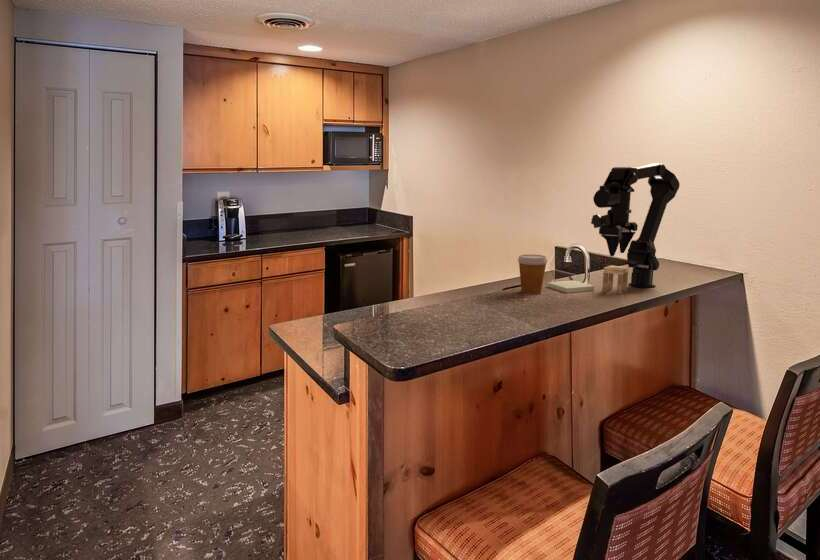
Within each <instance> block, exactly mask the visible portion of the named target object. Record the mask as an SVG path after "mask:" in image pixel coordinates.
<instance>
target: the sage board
mask: <svg viewBox="0 0 820 560" xmlns="http://www.w3.org/2000/svg"><path fill="white" fill-rule="evenodd" d="M546 287H547V288H550V289H553V290H557V291H559V292H563V293H565V294H567V293H580V292H591V291H593V292H594V291H595V285H592V284H588V283H585V282H581V281H578V280H574V279H573V280H561V281H549V282H547V283H546Z"/></svg>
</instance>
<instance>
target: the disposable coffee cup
mask: <svg viewBox="0 0 820 560" xmlns="http://www.w3.org/2000/svg"><path fill="white" fill-rule="evenodd" d="M517 261H518V266H519V268H518V269H519V279H520V289H521V293H522V294H525V295H541V293H542V291H543V290H542V289H543V284H544V279H545V278H544V277H545V272H546V265H547V264H548V263H547V262H548V258H547V256H546V255H544V254H543V255H542V254H532V253H531V254H521V255H519V257H518V258H517Z"/></svg>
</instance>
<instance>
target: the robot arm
mask: <svg viewBox="0 0 820 560" xmlns="http://www.w3.org/2000/svg"><path fill="white" fill-rule="evenodd" d="M656 176H657V177H656ZM647 178H648V179H647ZM643 179H647V183H648V186H650V189H649V190H650V191H649V192H650V197H651V198H652V199H651V203H650V205H649V207H648V211H647V214H646V216H645V219H644V221H643V225H642V228H641V232H640V234H639V236H638V238H637V239H636V240H635V239H634V240H633V237H634V235H635V234H636V232H637V231H638V224H637V223H636V222H635V221H629V220H630V214H632V209H631V208H630V206H631V196H632V195H631V193H634V192H635V189H634V188H633V187H632V185H634V184H637V182H638V181H639V180H643ZM680 185H681V184H680V181H679V180H678V178H677V176H676V175H675V173H673V172H672V171H670V170H669V169H667V168H666V166H665V164H663V163H649V164H647V165H642V166H614V167H612V168H611V171H610V172H609V173H608V175H607V177H606V179H605V180H604V183H603V185H599V189H598V190H597V191H596V192H595V193H594V195H593V199H592V200H593V204H594V205H595V206H596V207H597V208H599V209H603V208H604V209H605V208H610V209H608V210H607V212H606V214H604V215H600V214H599V213H598V214H593V215H592V218H591V222H590V224H591V225H593V227H594V229H597V228H599V229H598V234H599V235H600V236H601V237H602V238H603V239H605V241H606V245H607V248H608V252H609V256H610V257H615V254H616V253H617V250H618V247H619V253H621V254H624V253H626V250H627V253H626V259H627V264H628V266H627V267H629V268H632V272H631V276H630V277H631V278H630V279H631V280H630V282H629V283H627V286H628V285H629V286H632V287H636V288H640V289H642V288H643V289H644V288H655V287H656V285H655V284H653V280H654V279H653V278H654V271H657V270H659V268H660V262H659V259H658V258H657V256H656V253H657V250H656V246H655V243H654V242H655V240H656V237H657V234H658V231H659V228H660V225H661V224H662V223H661V222H662V219H663V217H664V214H665V211H666V208H667V205H668V203H670V202H671V201H672V200H673V199H674V198H675V197H676V195H677V192H678V190H679V189H680ZM628 246H629V247H628Z"/></svg>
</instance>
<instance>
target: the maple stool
mask: <svg viewBox="0 0 820 560" xmlns="http://www.w3.org/2000/svg"><path fill="white" fill-rule="evenodd" d="M629 269H630V267H628V266H619V265H608V266H606V267H605V266H604V268H603V276H602V277H603V278H602V289H601V290H602V292H603V293H607V292H608V290H609V291H610V290H611V291H612V290H613V287H614V275H617V287H616V294H617V295H622V294H623V292H627V291H628V282H629V281H628V280H629V278H628V277H629Z"/></svg>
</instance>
